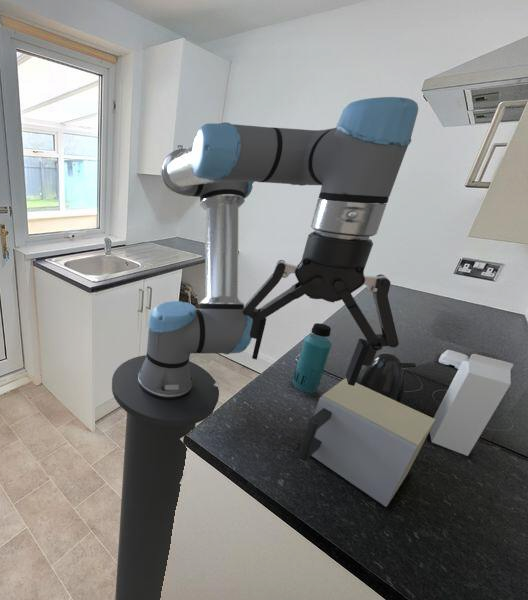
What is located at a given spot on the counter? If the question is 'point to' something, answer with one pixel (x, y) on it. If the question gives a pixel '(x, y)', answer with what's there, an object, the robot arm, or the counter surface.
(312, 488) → the counter surface
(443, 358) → the soap
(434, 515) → the counter surface
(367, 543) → the counter surface
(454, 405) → the milk
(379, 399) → the oven
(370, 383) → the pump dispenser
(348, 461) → the oven door
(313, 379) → the beverage bottle
